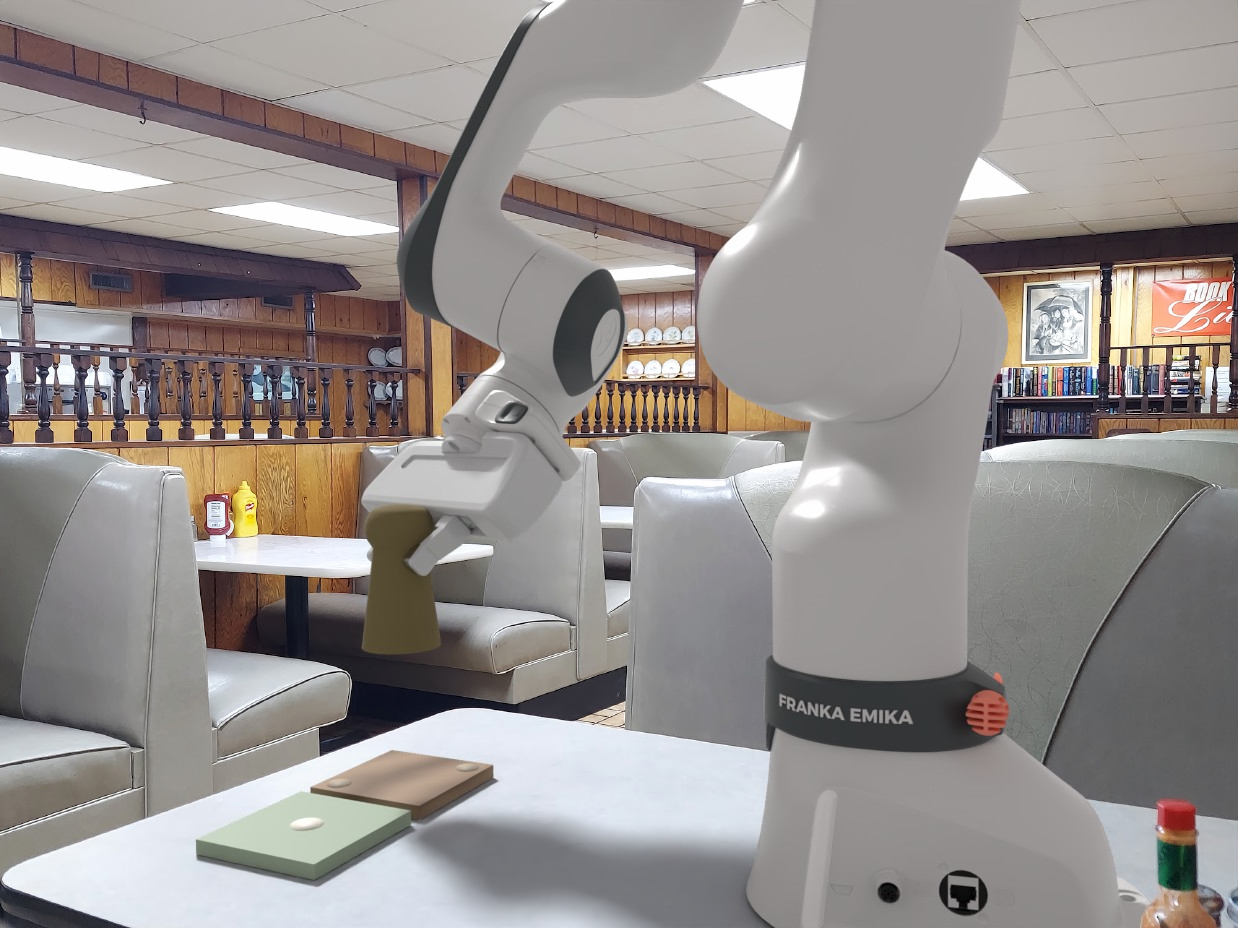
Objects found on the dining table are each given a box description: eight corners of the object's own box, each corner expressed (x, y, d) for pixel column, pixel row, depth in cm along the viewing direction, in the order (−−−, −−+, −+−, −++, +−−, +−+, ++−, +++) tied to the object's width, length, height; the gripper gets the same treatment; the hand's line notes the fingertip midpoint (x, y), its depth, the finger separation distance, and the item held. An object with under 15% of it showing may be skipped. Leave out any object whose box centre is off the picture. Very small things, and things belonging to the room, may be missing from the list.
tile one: (411, 824, 74) (410, 809, 74) (314, 879, 65) (313, 863, 65) (301, 804, 78) (301, 790, 78) (196, 853, 69) (195, 838, 69)
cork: (449, 638, 84) (446, 501, 84) (430, 654, 78) (427, 507, 78) (375, 637, 85) (373, 502, 84) (350, 654, 78) (347, 508, 78)
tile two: (493, 776, 84) (493, 763, 84) (419, 819, 75) (419, 804, 75) (392, 761, 88) (392, 749, 88) (310, 799, 79) (310, 786, 79)
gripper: (406, 413, 93) (305, 531, 87) (549, 408, 78) (439, 550, 72) (450, 462, 96) (355, 579, 90) (595, 466, 81) (493, 607, 75)
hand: (393, 566), depth 81 cm, fingers closed on cork, 4 cm apart
